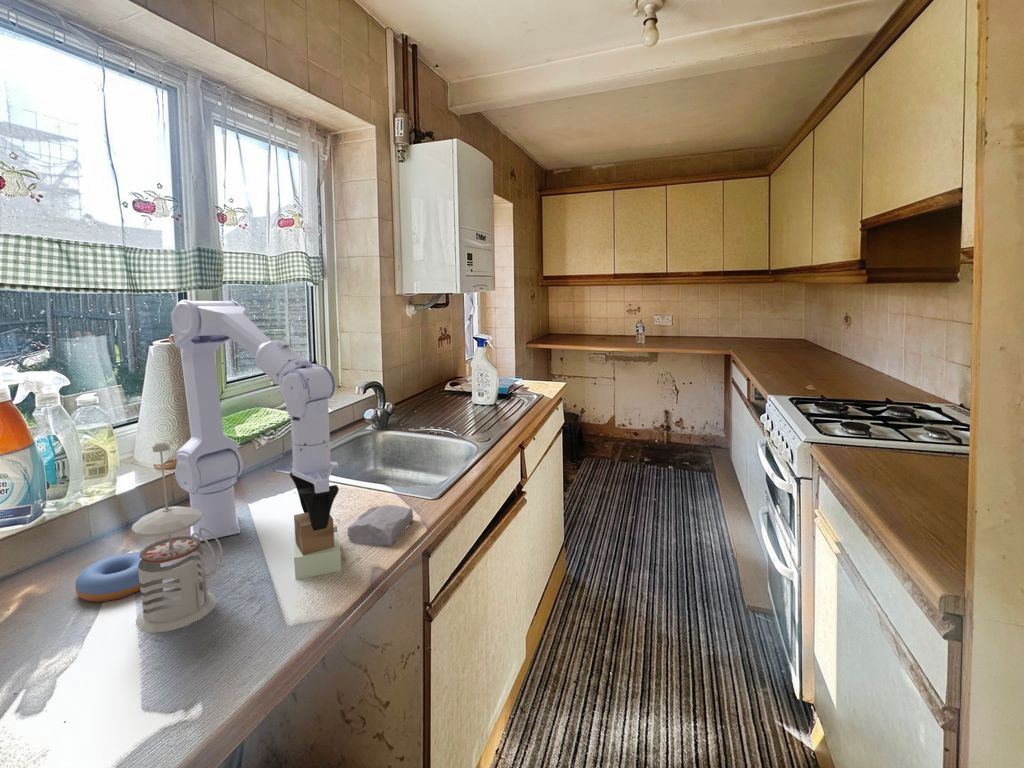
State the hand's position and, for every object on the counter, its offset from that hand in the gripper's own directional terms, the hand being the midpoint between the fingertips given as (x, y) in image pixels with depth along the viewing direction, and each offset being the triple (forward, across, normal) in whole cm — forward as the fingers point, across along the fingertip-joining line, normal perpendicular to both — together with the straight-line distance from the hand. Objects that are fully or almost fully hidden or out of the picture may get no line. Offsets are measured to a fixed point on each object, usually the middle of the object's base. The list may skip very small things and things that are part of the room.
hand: (314, 519), depth 83 cm
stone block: (+9, +7, -13) cm, 17 cm away
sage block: (+8, 0, 0) cm, 8 cm away
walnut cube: (+4, 0, 0) cm, 4 cm away
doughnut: (+9, +9, +27) cm, 30 cm away
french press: (+8, -3, +19) cm, 21 cm away
